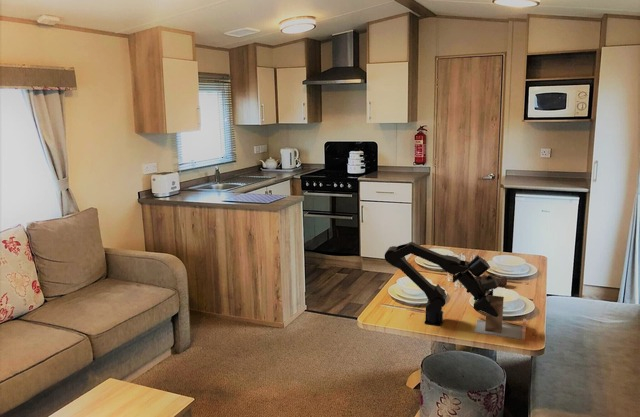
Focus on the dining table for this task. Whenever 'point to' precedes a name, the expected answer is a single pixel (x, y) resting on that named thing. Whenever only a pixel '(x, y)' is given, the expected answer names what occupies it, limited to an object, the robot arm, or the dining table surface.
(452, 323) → the dining table surface
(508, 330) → the bay
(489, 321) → the brown wooden block
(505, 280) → the bolt
